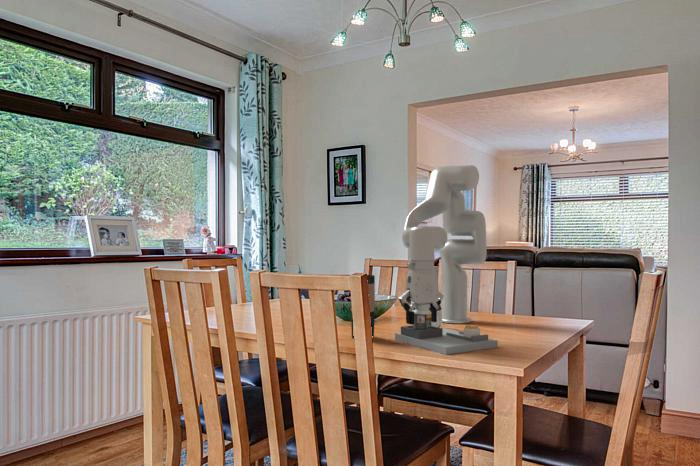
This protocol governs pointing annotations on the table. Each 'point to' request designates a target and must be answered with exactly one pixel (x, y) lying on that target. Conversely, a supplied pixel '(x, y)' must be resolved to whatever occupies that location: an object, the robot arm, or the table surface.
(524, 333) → the table surface
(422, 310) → the pill bottle
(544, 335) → the table surface
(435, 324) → the spread jar
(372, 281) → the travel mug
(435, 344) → the panel
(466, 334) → the toggle
